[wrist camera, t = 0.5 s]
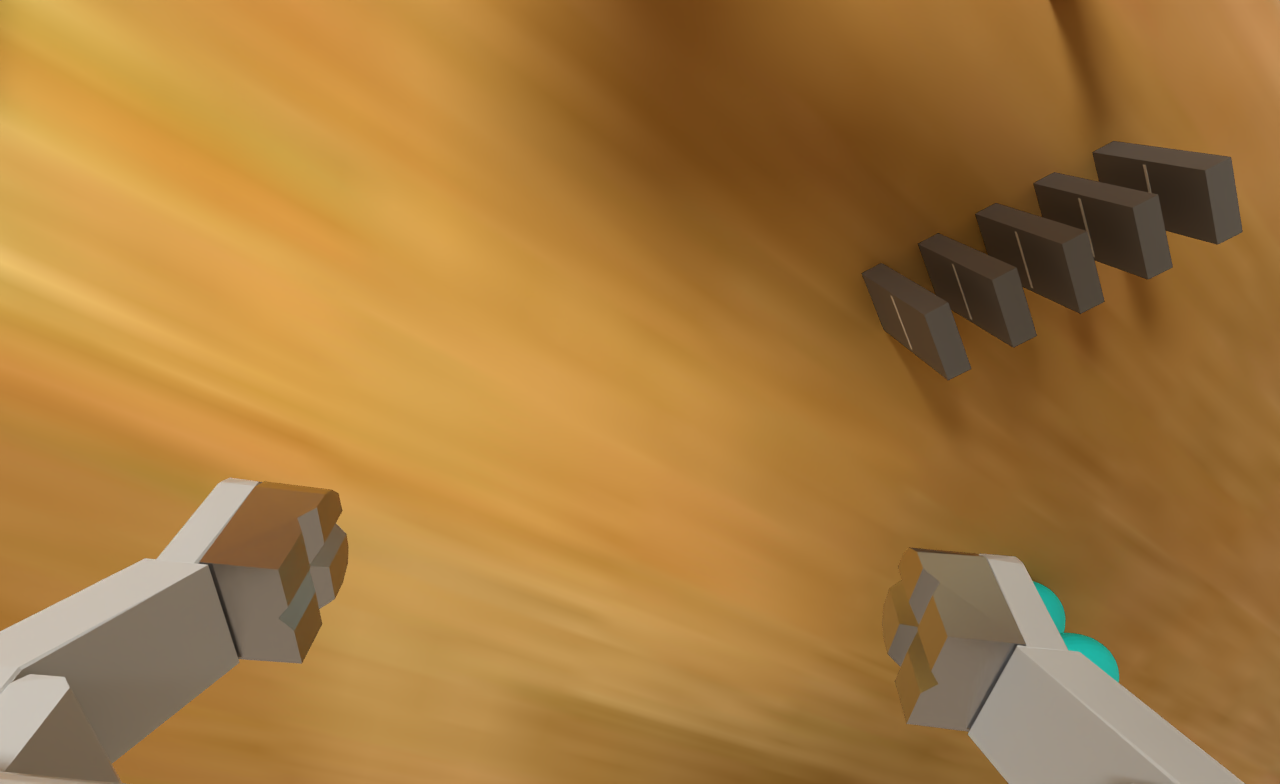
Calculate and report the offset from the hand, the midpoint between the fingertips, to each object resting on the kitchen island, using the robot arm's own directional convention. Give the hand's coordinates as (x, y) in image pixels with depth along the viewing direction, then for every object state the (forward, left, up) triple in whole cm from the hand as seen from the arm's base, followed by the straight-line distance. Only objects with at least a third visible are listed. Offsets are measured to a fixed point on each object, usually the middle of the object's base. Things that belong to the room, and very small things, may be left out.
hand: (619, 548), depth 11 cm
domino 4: (+2, +35, -43) cm, 55 cm away
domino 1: (+8, +24, -43) cm, 49 cm away
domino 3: (+4, +31, -43) cm, 53 cm away
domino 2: (+6, +28, -43) cm, 51 cm away
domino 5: (-1, +39, -43) cm, 58 cm away
